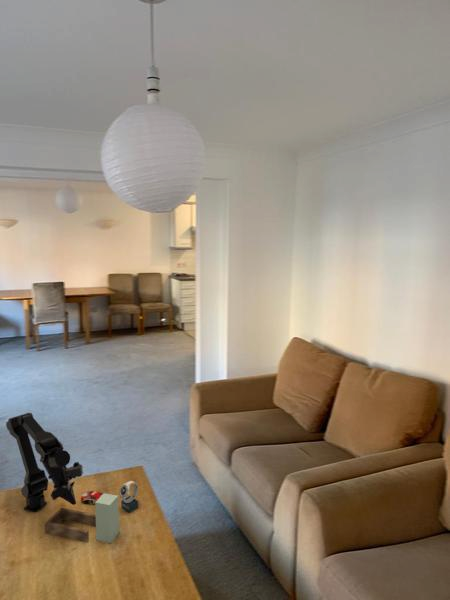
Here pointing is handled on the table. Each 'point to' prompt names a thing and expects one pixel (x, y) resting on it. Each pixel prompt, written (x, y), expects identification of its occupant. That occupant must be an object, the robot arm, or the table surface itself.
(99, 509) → the block
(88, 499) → the race car
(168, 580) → the table surface
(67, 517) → the brown rectangular frame
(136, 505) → the watch
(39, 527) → the table surface
